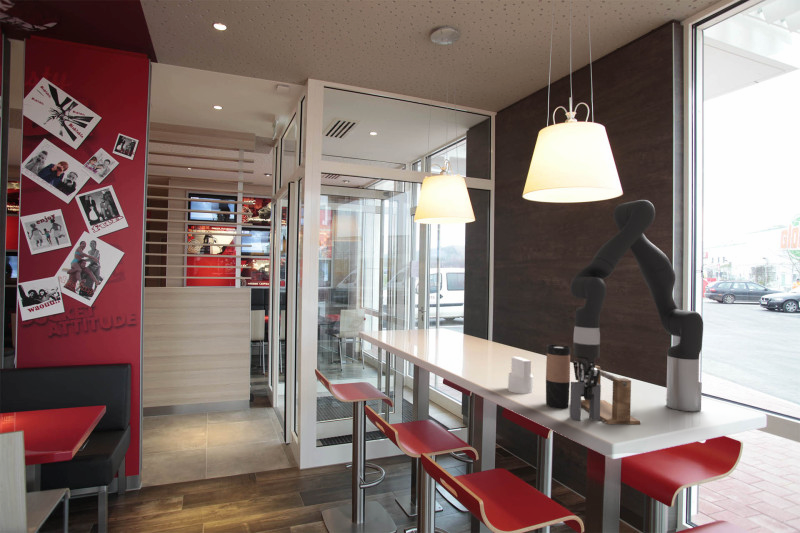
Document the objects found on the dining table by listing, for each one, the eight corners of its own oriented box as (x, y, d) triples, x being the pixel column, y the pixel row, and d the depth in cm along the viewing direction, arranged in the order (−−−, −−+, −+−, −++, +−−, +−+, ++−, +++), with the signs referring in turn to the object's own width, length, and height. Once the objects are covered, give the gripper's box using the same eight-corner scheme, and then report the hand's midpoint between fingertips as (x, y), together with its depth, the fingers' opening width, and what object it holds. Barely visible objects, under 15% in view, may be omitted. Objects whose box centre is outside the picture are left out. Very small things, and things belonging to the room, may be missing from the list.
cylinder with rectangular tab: (503, 388, 175) (504, 357, 175) (523, 387, 178) (524, 356, 178) (516, 394, 167) (517, 361, 167) (537, 393, 169) (538, 360, 170)
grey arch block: (595, 417, 141) (596, 382, 141) (599, 420, 138) (600, 384, 138) (569, 417, 141) (570, 381, 141) (574, 420, 138) (574, 384, 138)
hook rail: (604, 403, 158) (605, 365, 158) (639, 424, 136) (640, 380, 136) (576, 402, 158) (576, 365, 158) (607, 423, 136) (608, 380, 136)
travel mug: (553, 409, 149) (555, 348, 149) (540, 403, 156) (542, 344, 156) (574, 408, 151) (575, 348, 151) (560, 401, 158) (561, 344, 158)
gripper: (609, 345, 133) (608, 404, 133) (588, 338, 147) (587, 392, 147) (584, 344, 133) (583, 404, 133) (565, 337, 147) (564, 391, 147)
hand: (585, 397), depth 140 cm, fingers closed on grey arch block, 3 cm apart
